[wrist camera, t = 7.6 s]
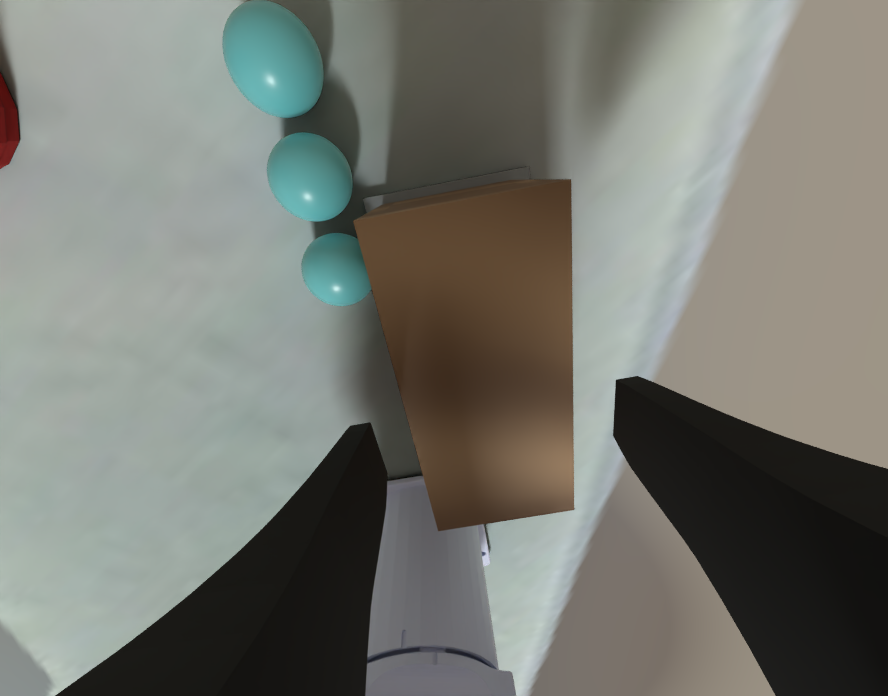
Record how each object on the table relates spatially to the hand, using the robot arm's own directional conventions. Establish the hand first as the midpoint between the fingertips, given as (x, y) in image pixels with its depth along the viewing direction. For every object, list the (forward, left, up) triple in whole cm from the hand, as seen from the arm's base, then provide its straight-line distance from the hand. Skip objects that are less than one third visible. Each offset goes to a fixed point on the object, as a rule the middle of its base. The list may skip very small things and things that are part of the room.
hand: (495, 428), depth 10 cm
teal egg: (+11, +5, -8) cm, 15 cm away
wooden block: (0, 0, -8) cm, 8 cm away
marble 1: (+8, +5, -8) cm, 12 cm away
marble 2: (+4, +5, -8) cm, 10 cm away
